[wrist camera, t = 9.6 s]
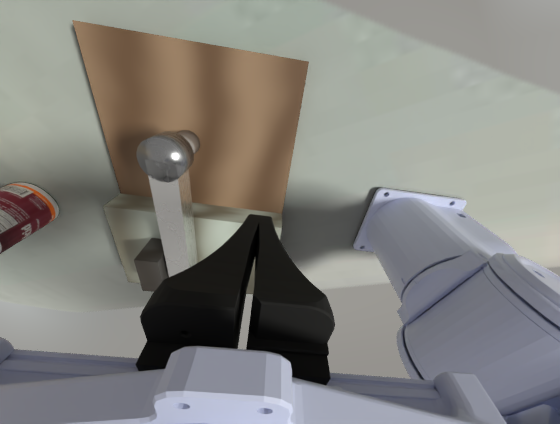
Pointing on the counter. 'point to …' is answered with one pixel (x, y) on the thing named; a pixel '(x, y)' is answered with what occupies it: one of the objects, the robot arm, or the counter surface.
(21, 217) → the pill bottle
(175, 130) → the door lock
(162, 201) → the bar
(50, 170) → the counter surface
